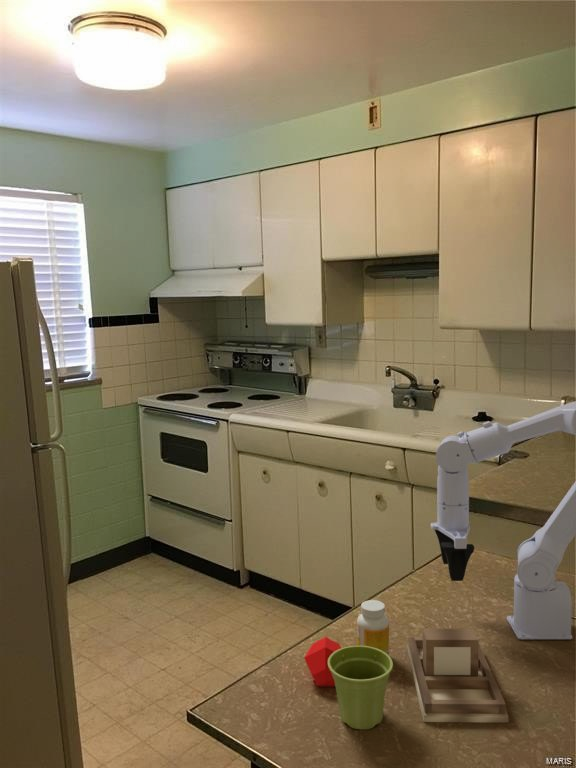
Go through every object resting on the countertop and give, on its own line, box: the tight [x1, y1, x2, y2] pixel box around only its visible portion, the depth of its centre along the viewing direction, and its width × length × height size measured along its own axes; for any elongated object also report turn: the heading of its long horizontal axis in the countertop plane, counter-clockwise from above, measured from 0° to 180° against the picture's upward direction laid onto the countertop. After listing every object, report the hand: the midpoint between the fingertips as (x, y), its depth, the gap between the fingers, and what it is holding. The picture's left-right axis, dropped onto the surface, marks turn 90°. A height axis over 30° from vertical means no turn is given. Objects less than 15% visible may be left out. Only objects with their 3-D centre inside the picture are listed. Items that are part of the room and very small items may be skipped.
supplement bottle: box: [356, 599, 390, 656], centre depth 112 cm, size 5×5×10 cm
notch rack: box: [406, 636, 509, 724], centre depth 105 cm, size 12×20×2 cm, turn 177°
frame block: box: [422, 628, 479, 677], centre depth 104 cm, size 8×4×7 cm, turn 87°
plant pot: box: [328, 645, 394, 730], centre depth 96 cm, size 9×9×9 cm
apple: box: [303, 636, 342, 688], centre depth 107 cm, size 7×7×8 cm
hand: (452, 571), depth 124 cm, fingers open, 7 cm apart
